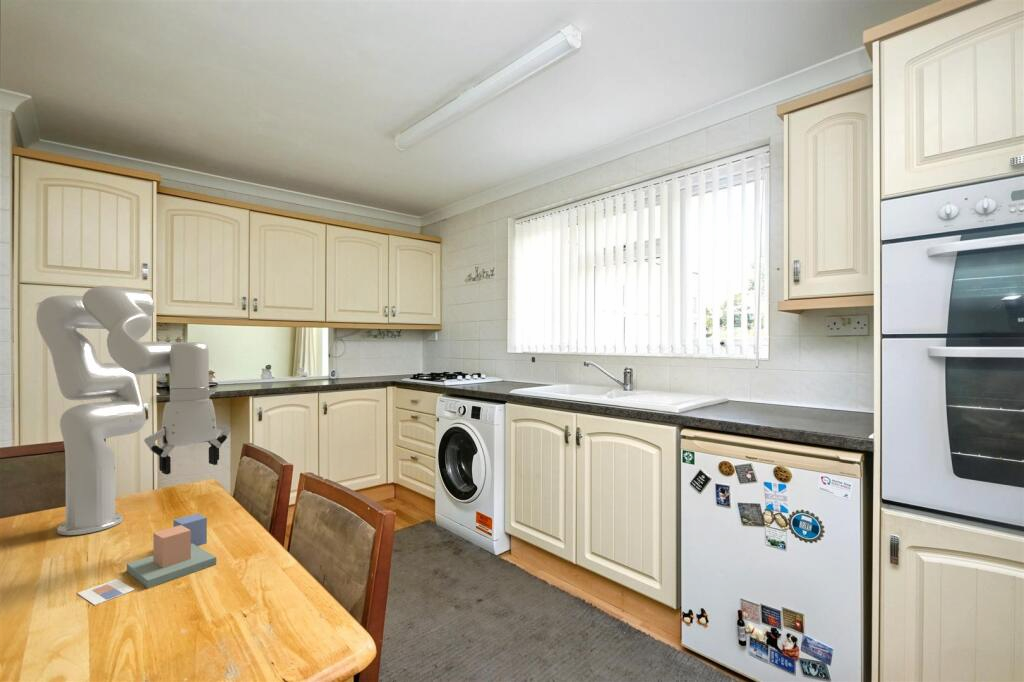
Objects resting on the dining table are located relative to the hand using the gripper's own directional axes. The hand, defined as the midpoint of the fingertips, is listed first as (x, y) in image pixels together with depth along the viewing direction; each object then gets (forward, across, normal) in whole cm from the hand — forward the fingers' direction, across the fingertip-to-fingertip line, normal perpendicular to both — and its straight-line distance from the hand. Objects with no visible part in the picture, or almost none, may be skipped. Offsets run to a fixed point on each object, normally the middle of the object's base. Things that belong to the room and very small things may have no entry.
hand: (190, 468), depth 110 cm
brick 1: (+16, +7, +10) cm, 20 cm away
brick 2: (+18, 0, 0) cm, 18 cm away
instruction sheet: (+18, +18, +11) cm, 27 cm away
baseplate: (+18, +7, +10) cm, 21 cm away
